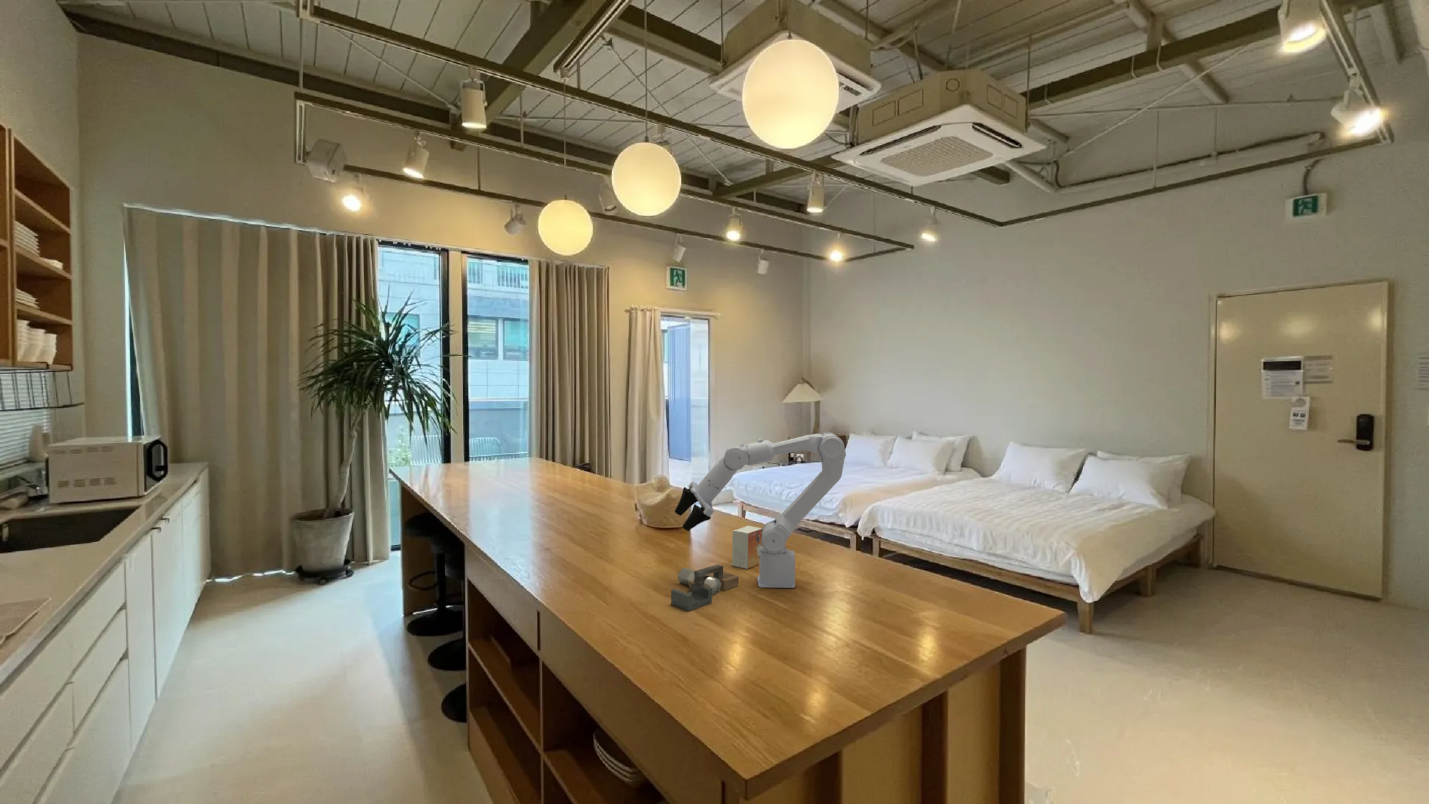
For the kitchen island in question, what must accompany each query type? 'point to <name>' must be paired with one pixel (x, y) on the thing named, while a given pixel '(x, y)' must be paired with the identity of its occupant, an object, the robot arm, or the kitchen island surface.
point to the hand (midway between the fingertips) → (681, 521)
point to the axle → (714, 583)
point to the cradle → (692, 597)
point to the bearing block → (724, 577)
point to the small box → (746, 547)
